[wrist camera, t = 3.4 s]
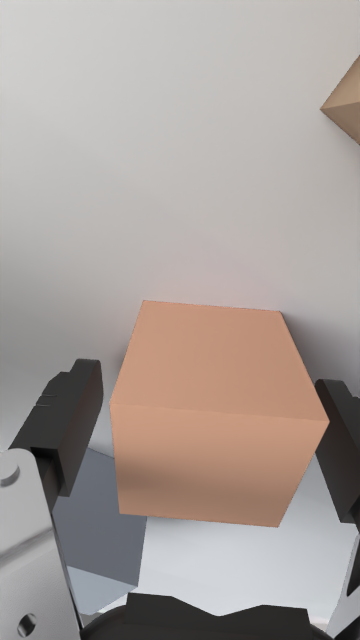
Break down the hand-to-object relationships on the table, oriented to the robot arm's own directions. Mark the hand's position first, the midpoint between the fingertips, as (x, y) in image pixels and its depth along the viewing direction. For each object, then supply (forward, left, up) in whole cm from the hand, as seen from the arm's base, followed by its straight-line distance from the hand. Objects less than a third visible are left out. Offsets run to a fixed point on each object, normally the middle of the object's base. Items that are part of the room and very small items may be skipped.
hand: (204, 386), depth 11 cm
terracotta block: (0, 0, -2) cm, 2 cm away
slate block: (+9, -5, -2) cm, 11 cm away
